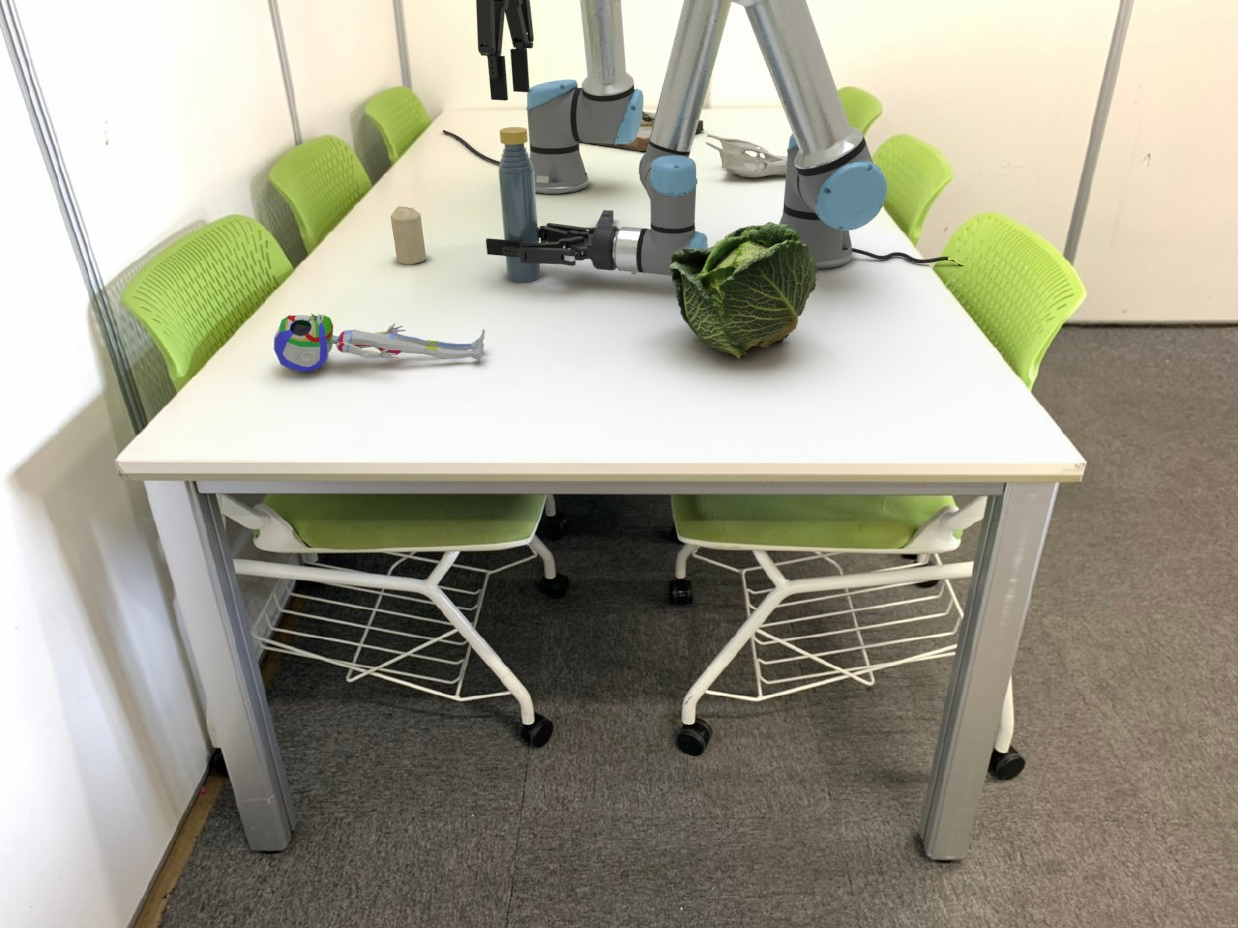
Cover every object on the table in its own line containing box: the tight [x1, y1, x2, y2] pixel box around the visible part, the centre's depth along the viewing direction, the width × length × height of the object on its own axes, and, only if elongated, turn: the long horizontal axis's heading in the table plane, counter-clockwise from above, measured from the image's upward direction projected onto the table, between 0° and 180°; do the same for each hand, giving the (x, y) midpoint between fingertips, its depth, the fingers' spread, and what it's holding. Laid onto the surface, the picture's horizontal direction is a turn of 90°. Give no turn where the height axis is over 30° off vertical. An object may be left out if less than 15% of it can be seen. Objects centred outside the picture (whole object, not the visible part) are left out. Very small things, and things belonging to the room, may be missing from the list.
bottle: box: [498, 143, 542, 283], centre depth 157 cm, size 6×6×25 cm
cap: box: [499, 126, 529, 145], centre depth 151 cm, size 5×5×2 cm
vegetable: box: [669, 221, 818, 360], centre depth 133 cm, size 20×19×20 cm
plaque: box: [584, 110, 705, 152], centre depth 257 cm, size 30×7×30 cm
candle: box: [390, 205, 427, 265], centre depth 169 cm, size 6×6×10 cm
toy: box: [273, 313, 486, 373], centre depth 132 cm, size 10×8×30 cm
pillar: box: [594, 209, 615, 228], centre depth 182 cm, size 2×2×20 cm
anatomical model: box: [705, 133, 788, 178], centre depth 218 cm, size 15×9×25 cm
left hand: (510, 95), depth 147 cm, fingers open, 7 cm apart
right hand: (496, 239), depth 162 cm, fingers open, 8 cm apart
